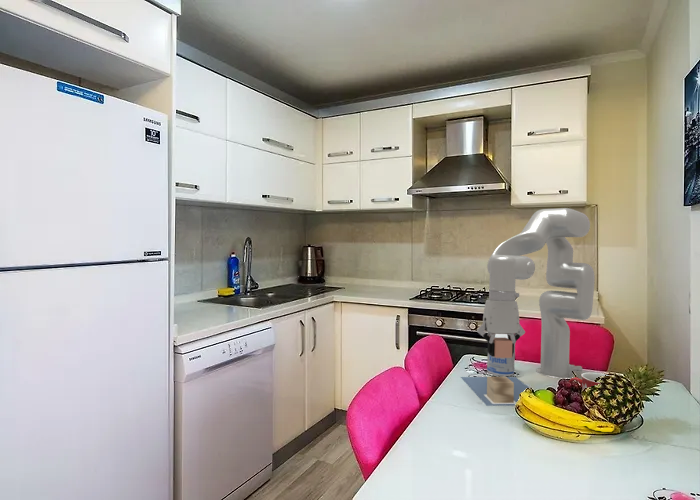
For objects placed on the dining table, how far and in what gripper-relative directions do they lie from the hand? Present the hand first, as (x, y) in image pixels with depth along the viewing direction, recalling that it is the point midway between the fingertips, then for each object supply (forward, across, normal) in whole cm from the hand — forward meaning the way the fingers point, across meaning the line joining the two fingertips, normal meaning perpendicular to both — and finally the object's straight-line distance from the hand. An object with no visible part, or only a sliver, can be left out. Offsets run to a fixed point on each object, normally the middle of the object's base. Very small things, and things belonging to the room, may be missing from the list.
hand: (500, 354), depth 129 cm
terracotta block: (0, 0, 0) cm, 0 cm away
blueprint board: (+15, -4, -8) cm, 17 cm away
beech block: (+14, 0, 0) cm, 14 cm away
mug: (+15, -19, +16) cm, 29 cm away
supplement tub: (+15, -11, -27) cm, 33 cm away
